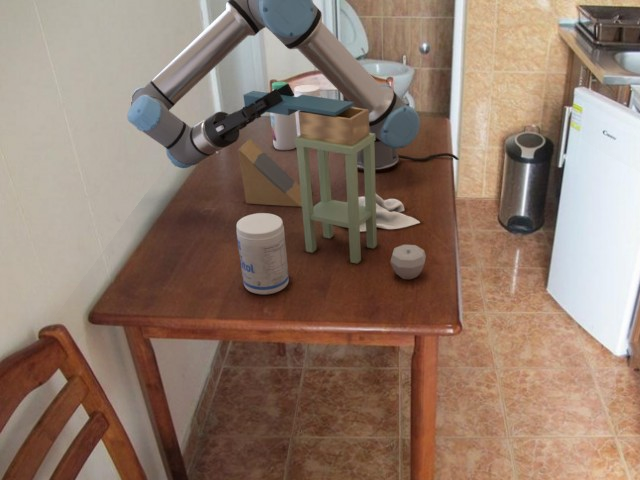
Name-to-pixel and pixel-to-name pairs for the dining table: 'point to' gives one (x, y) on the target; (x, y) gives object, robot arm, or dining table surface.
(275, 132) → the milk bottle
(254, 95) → the lid
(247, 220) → the supplement tub
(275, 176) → the sandwich container
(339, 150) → the stand
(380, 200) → the cloth
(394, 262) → the apple
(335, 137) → the tea box
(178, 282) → the dining table surface
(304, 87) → the jar
